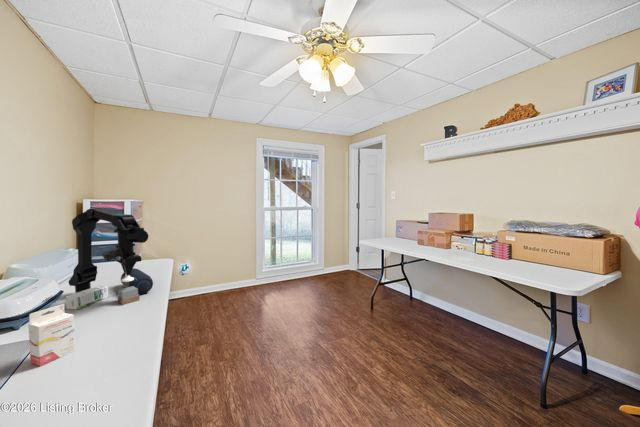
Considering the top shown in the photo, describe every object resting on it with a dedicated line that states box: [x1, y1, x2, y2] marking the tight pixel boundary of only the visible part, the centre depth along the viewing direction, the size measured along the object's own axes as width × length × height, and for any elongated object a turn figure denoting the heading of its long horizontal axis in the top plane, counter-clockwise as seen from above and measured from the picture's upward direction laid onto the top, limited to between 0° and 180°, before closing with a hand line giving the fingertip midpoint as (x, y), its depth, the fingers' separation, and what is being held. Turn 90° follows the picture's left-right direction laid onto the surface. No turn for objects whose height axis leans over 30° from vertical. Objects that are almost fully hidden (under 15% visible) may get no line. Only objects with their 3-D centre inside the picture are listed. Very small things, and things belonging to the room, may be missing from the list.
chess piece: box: [120, 268, 134, 283], centre depth 120 cm, size 5×5×10 cm
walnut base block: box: [117, 294, 141, 306], centre depth 121 cm, size 7×7×3 cm
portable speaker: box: [120, 267, 154, 295], centre depth 135 cm, size 25×10×10 cm, turn 49°
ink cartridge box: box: [28, 303, 76, 367], centre depth 78 cm, size 9×5×15 cm, turn 160°
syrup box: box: [65, 285, 109, 310], centre depth 119 cm, size 6×6×14 cm
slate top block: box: [117, 286, 139, 299], centre depth 121 cm, size 6×6×3 cm
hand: (127, 275), depth 120 cm, fingers closed on chess piece
